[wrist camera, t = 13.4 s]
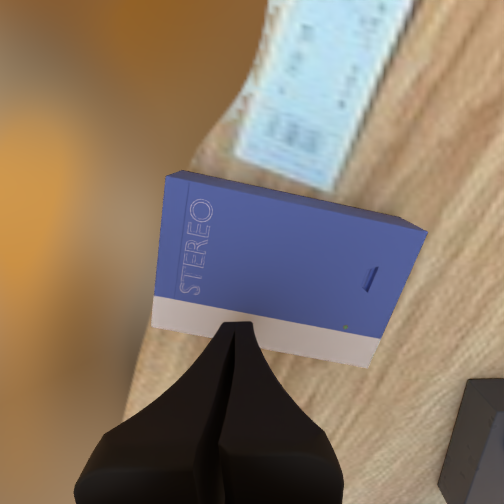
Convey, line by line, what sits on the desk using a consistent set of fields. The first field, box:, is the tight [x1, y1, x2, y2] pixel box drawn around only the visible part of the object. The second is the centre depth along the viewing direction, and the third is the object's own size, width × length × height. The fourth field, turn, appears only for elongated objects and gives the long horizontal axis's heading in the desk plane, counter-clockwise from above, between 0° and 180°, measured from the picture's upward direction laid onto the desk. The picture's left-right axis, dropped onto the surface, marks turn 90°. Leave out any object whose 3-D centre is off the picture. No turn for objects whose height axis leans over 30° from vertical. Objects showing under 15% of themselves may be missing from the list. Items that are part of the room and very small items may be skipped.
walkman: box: [151, 170, 428, 368], centre depth 15 cm, size 8×3×12 cm
